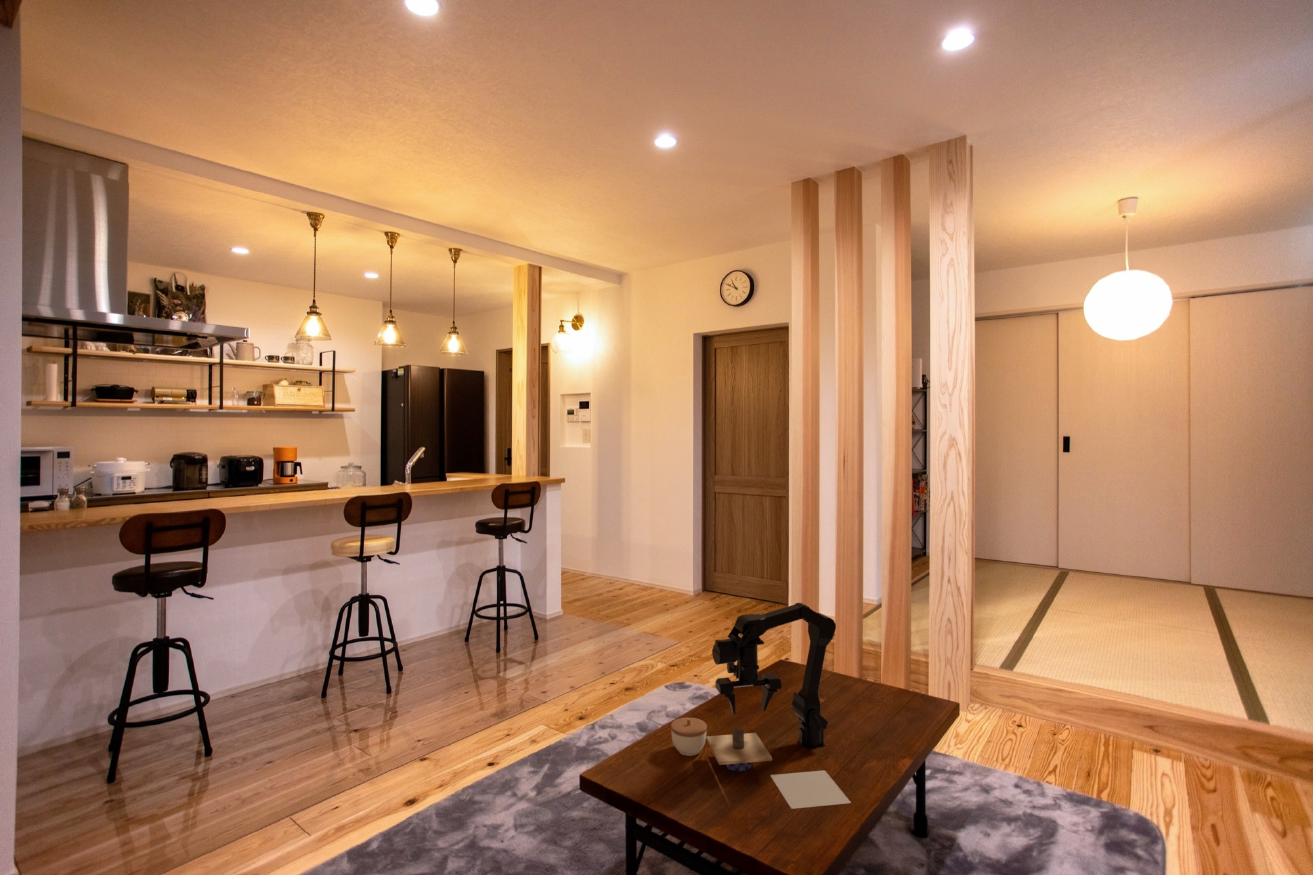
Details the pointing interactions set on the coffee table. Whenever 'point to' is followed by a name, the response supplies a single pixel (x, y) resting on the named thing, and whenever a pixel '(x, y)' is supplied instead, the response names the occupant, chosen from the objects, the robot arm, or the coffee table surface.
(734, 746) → the lid
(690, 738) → the lidded jar
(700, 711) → the coffee table surface
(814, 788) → the mat
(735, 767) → the purple round dome
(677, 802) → the coffee table surface
